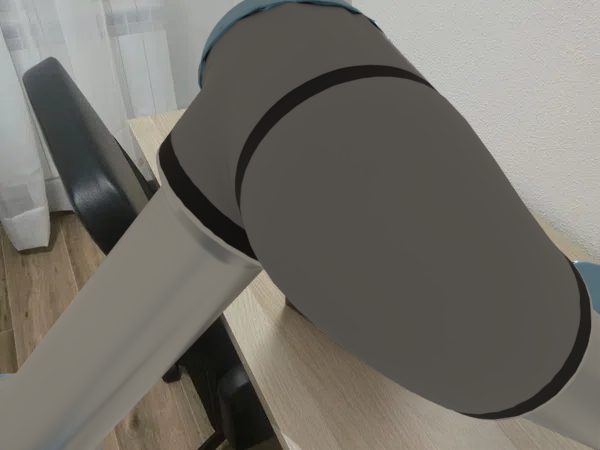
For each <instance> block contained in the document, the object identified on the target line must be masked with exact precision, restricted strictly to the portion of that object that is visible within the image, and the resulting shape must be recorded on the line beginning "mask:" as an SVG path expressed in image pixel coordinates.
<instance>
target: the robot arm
mask: <svg viewBox="0 0 600 450" xmlns="http://www.w3.org/2000/svg"><path fill="white" fill-rule="evenodd" d="M197 83H198V86H199V92H198V93H197V94H196V96H195V98H194V99H193V100H192V101H191V103H190V104H189V105H188V107H187V108H186V110H185V111H184V112H183V113H182V115H181V116H180V117H179V119H178V120H177V122H176V123H175V124H174V126H173V127H172V129H170V132H169V133H168V134H167V135H166V136H165V138H164V140H163V141H162V143H161V144H160V145H159V147H158V148H157V150H156V154H155V163H156V169H157V172H158V176H159V180H160V184H161V185H160V187H159V188H158V189H157V190H156V191H155V193H154V194H153V196H151V198H150V199H149V201H148V202H147V204H146V205H145V206H144V207H143V209H142V210H141V211H140V212H139V214H138V215H137V216H136V218H135V219H134V220H133V222H132V223H131V224H130V226H129V227H128V228H127V229H126V230H125V232H124V234H123V235H122V236H121V237H120V238H119V240H118V241H117V242H116V243H115V244H114V246H113V247H112V248H111V250H110V251H109V253H108V254H107V255H106V256H105V257H104V259H103V260H102V262H101V263H100V264H99V266H98V267H97V268H96V269H95V271H94V272H93V273H92V275H91V276H89V278H88V279H87V281H86V282H85V283H84V285H83V286H82V287H81V289H80V290H79V291H78V292H77V294H76V295H75V296H74V298H73V299H72V300H71V302H70V303H69V304H68V306H67V307H66V308H65V309H64V311H63V312H62V313H61V314H60V316H59V317H58V318H57V320H56V321H55V322H54V323H53V325H52V326H51V328H50V329H49V330H48V331H47V333H46V334H45V335H44V337H43V338H42V339H41V340H40V342H39V343H38V344H37V345H36V347H35V348H34V349H33V351H32V352H31V353H30V355H29V356H28V357H27V358H26V360H25V361H24V362H23V364H22V365H21V366H20V368H18V370H17V371H16V372H15V373H1V374H0V450H104V445H105V444H104V439H105V438H106V437H107V436H108V435H109V434H110V433H111V432H112V430H113V429H114V428H115V427H116V426H117V425H118V424H119V423H120V422H121V421H122V420H123V419H124V418H125V417H126V416H127V415H128V414H129V413H130V412H131V410H132V409H133V408H134V407H135V406H136V405H137V404H138V403H139V402H140V401H141V400H142V399H143V398H144V396H145V395H146V394H148V392H150V391H151V389H152V388H153V387H154V386H155V385H156V384H157V383H158V382H159V381H160V379H162V378H163V377H164V376H165V374H166V373H167V372H168V371H169V370H170V369H171V368H172V367H173V366H174V364H176V363H177V362H178V361H179V360H180V359H181V358H182V356H183V355H184V354H185V353H186V352H187V351H188V350H189V349H190V348H191V347H192V346H193V345H194V344H195V343H196V342H197V341H198V339H199V338H200V337H201V336H202V335H203V334H204V333H205V332H206V331H207V330H208V329H209V328H210V327H211V326H212V324H214V322H216V320H217V319H218V318H219V317H220V316H221V315H222V314H223V313H224V312H225V311H226V310H227V309H228V308H229V307H230V306H231V304H232V303H234V301H236V299H237V298H238V297H239V296H240V295H241V294H242V293H243V291H245V289H247V287H248V286H249V285H250V284H251V283H252V282H253V281H254V280H255V279H256V278H257V277H258V276H259V275H260V274H261V273H262V272H263V271H265V273H266V275H267V276H268V278H269V279H270V281H271V282H272V283H273V285H274V286H276V288H277V289H278V290H279V291H280V292H281V293H282V294H283V295H284V297H285V296H286V297H287V298H288V300H289V301H290V302H291V303H292V304H293V305H294V306H295V307H296V308H297V309H298V310H299V311H300V312H301V313H302V314H303V315H304V316H305V317H307V318H308V319H309V320H310V321H311V322H312V323H311V322H310V321H309V322H310V323H311V324H312V325H314V326H315V327H316V328H317V329H318V330H319V331H321V332H322V333H323V334H325V335H326V337H328V338H329V339H331V340H332V341H334V343H336V344H337V345H339V346H340V347H342V348H343V349H344V350H345V351H346V352H348V353H349V354H351V355H352V356H354V357H355V358H356V359H358V360H359V361H361V362H363V363H364V364H365V365H367V366H368V367H370V368H371V369H372V370H375V371H376V372H377V373H379V374H380V375H382V376H384V377H386V378H387V379H388V380H390V381H392V382H393V383H395V384H397V385H398V386H400V387H402V388H403V389H405V390H407V391H409V392H410V393H413V394H415V395H416V396H418V397H421V398H423V399H425V400H427V401H429V402H431V403H433V404H436V405H438V406H440V407H442V408H444V409H446V410H450V411H453V412H454V413H455V412H456V413H458V414H461V415H463V416H466V417H469V418H472V419H478V420H482V421H507V420H514V419H517V418H523V419H524V420H527V421H529V422H532V423H533V424H536V425H538V426H540V427H543V428H545V429H547V430H549V431H551V432H553V433H556V434H558V435H561V436H563V437H565V438H568V439H570V440H571V441H574V442H576V443H579V444H581V445H583V446H585V447H588V448H590V449H592V450H600V264H599V263H596V262H592V261H587V260H573V261H572V260H571V259H570V258H569V257H568V256H567V255H566V254H565V253H564V252H563V251H562V250H561V249H559V247H558V246H557V245H556V244H555V243H554V242H553V240H552V239H551V238H550V237H549V235H548V234H547V233H546V231H545V230H544V228H543V227H542V225H541V224H540V223H539V222H538V220H537V219H536V218H535V216H534V215H533V214H532V212H531V211H530V209H529V208H528V207H527V205H526V204H525V203H524V201H523V199H522V198H521V197H520V195H519V193H518V192H517V191H516V189H515V187H514V186H513V184H512V183H511V181H510V179H509V178H508V177H507V175H506V173H505V172H504V170H503V169H502V168H501V166H500V165H499V163H498V161H496V159H495V158H494V156H493V155H492V153H491V152H490V151H489V149H488V147H487V146H486V145H485V144H484V142H483V140H482V139H481V138H480V137H479V135H478V134H477V132H476V131H475V130H474V128H473V127H472V125H470V123H469V121H468V120H467V118H466V117H465V116H464V115H462V114H461V112H460V111H458V109H457V108H456V107H455V106H454V105H453V104H452V103H451V102H450V101H449V100H448V99H447V97H445V96H444V95H442V94H441V93H440V92H439V91H438V90H437V89H436V88H435V86H433V84H432V83H431V82H430V81H429V80H428V79H427V78H426V77H425V76H424V74H422V72H420V71H419V70H418V68H417V67H416V66H415V65H414V64H413V63H412V62H411V61H410V60H409V58H407V57H406V55H405V54H403V52H402V51H400V49H399V48H398V47H397V46H396V45H395V44H394V43H393V41H392V39H390V37H388V36H387V35H386V33H385V32H384V31H383V30H382V29H381V27H380V26H378V24H377V21H376V20H374V19H372V18H371V17H369V16H367V15H366V14H365V13H363V12H362V11H361V10H359V9H358V8H357V7H355V6H353V5H352V4H350V3H349V2H347V1H345V0H242V1H240V2H238V3H237V4H236V5H234V6H233V7H232V8H230V10H228V11H227V12H226V13H225V14H224V15H223V16H222V17H221V18H220V19H219V21H218V22H217V23H216V24H215V25H214V27H213V29H212V30H211V32H210V34H209V35H208V36H207V38H206V41H205V44H204V46H203V50H202V53H201V57H200V61H199V64H198V69H197Z"/></svg>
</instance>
